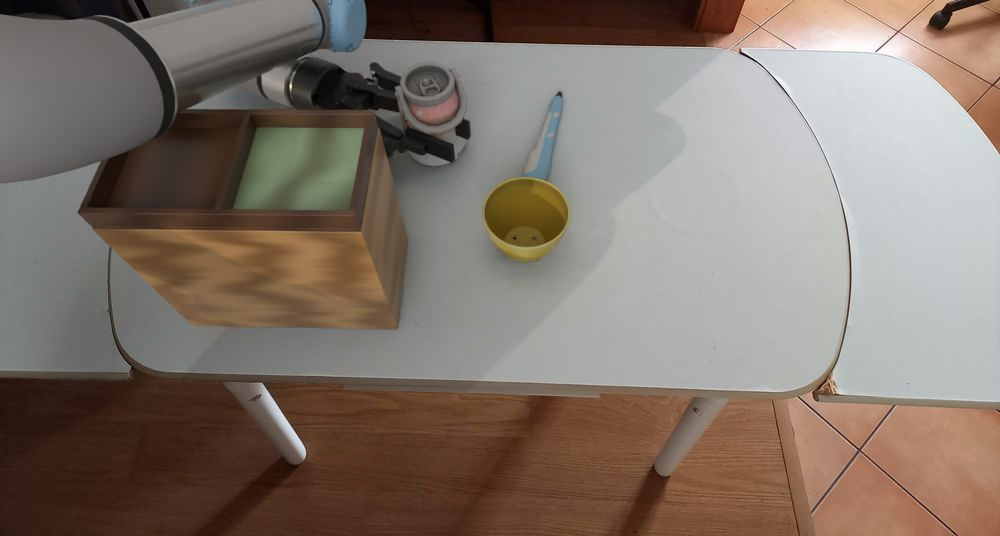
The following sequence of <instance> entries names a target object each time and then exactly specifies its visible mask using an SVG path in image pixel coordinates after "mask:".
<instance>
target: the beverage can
mask: <svg viewBox="0 0 1000 536" xmlns="http://www.w3.org/2000/svg"><path fill="white" fill-rule="evenodd" d="M460 78H461V74H460V72H458V70H457V68H456V67H453V68H449V67H447V66H446V65H444V64H441V63H439V62H431V61H430V62H429V61H428V62H420V63H417V64H414V65H412V66H410V67H409V68H408V69H406V70H405V71H404V72H403V73H402V75H401V81H400V85H399V86H396V87H395V90H396V92H395V96H396V97H397V101H398V106H399V111H400V113H399V115H400V120H401V124H402V129H403V133H404V134H405V130H406V128H407V127H409V128H412V129H415V130H417V131H420V132H423V133H425V134H428V135H431V136H433V137H436V138H439V139H441V140H444V141H447V142H449V143H452V144H454V152H455V160H454V161H453V162H456V161H457V160H458V159H459V158H460V157H461V156H462V155H463V153H464V152H465V150H466V147H467V139H464V138H461V137H459V136H456V133H455V127H456V126H457V125H458V124H460V123H461V122H462V120H463V119H465V115H466V114H467V111H468V97H467V95H466V92H465V90H464V86H463V83H462V81H461V79H460ZM407 151H408V150H407ZM408 153H409V155H410V156H411V157H412V159H413V160H414V161H416V162H417V163H419V164H421V165H423V166H427V167H436V168H437V167H438V168H439V167H444V166H447V165H449V164H452V163H451V162H449V161H446V160H443V159H441V158H438V157H436V156H433V155H430V154H428V153H426V154H425V156H422V155H418V154H415V153H413V152H410V151H408Z"/></svg>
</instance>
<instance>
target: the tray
mask: <svg viewBox="0 0 1000 536" xmlns="http://www.w3.org/2000/svg"><path fill="white" fill-rule="evenodd" d="M375 115H376V113H375V110H371V109H368V110H295V109H261V108H260V109H257V108H255V109H254V108H253V109H251V108H250V109H249V108H248V109H247V108H246V109H243V108H242V109H241V108H235V109H234V108H187V109H185V110H183V111H181V112H179V113H176V117H175V120H174V122H173V124H172V126H171V127H170V128H169V129H168V130H167V131H166V132H165V133H164V134H162V135H160V136H159V137H157V138H155V139H153V140H150V141H148V142H146V143H144V144H142V145H141V146H138V147H136V148H134V149H131V150H129V151H126V152H124V153H121V154H119V155H116V156H114V157H111V158H108V159H106V160H103V161H100V162H99V164H98V166H97V168H96V170H95V173H94V175H93V177H92V179H91V182H90V184H89V186H88V187H87V190H86V192H85V195H84V196H83V199H82V201H81V204H80V206H79V208H78V210H77V214H78V215H79V216H80V217H81V218H82V219H83V220H84V221H85V222H86V223H87V224H88V225H89V226H90V227H91V228H92V229H93V228H94V229H176V230H260V231H344V232H361V228H362V222H363V216H364V210H365V204H366V198H367V192H368V186H369V180H370V174H371V168H372V162H373V156H374V150H375V144H376V138H377V132H378V125H377V122H376V118H375Z"/></svg>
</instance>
